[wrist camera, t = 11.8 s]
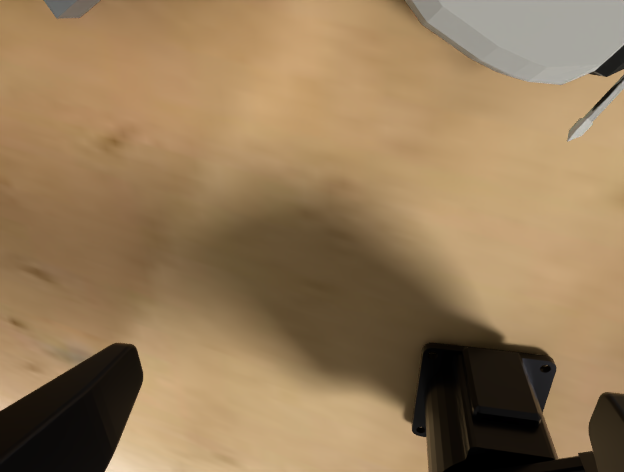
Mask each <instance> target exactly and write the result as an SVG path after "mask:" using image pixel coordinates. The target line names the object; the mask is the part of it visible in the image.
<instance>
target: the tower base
mask: <svg viewBox="0 0 624 472" xmlns="http://www.w3.org/2000/svg"><path fill="white" fill-rule="evenodd" d="M44 1H45V3H46V4H47V6H48V7H49V8H50V10H51V11H52V13H53V14H54V15H55V17H56V18H57V19H59V18H80V17H81V16H83V15H84V14H85V13H86V12H87V11H89V10H90V9H91V8H92V7H93V6H94V5H96V4H97V3H98V2H99V1H100V0H44Z"/></svg>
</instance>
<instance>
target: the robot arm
mask: <svg viewBox="0 0 624 472" xmlns="http://www.w3.org/2000/svg"><path fill="white" fill-rule="evenodd" d="M430 352H436V353H435V354H429V353H430ZM543 365H548V366H546V367H541V366H543ZM555 372H556V365H555V363H554V361H553V359H552V358H551V357H549V356H544V355H535V354H526V353H518V352H509V351H500V350H491V349H482V348H473V347H465V346H456V345H447V344H438V343H428V344H426V345H425V346H424V347H423V349H422V356H421V363H420V370H419V377H418V384H417V391H416V397H415V404H414V411H413V418H412V432H413V433H414V434H416V435H418V436H423V437H427V454H428V471H429V472H624V394H620V393H610V392H605V393H603V394H601V395H600V397H599V399H598V402H597V404H596V407H595V409H594V412H593V414H592V417H591V419H590V422H589V437H590V441H591V445H592V449H593V451H590V452H583V453H578V455H579V456H575V457H568V458H562V459H558V456H557V454H556V451H555V448H554V445H553V442H552V439H551V436H550V433H549V431H548V428H547V425H546V422H545V419H544V416H543V409H544V406H545V403H546V400H547V397H548V394H549V391H550V388H551V385H552V382H553V378H554V375H555ZM142 382H143V371H142V367H141V363H140V359H139V355H138V352H137V349H136V347H135V346H134V345H132V344H125V343H114V344H112V345H110V346H108V347H107V348H105V349H103V350H102V351H100V352H98V353H97V354H95V355H93V356H92V357H90V358H88V359H87V360H85V361H83V362H82V363H80V364H78V365H77V366H75V367H73V368H72V369H70V370H68V371H67V372H65V373H63V374H62V375H60V376H58V377H57V378H55V379H53V380H52V381H50V382H48V383H47V384H45V385H43V386H42V387H40V388H38V389H37V390H35V391H33V392H32V393H30V394H28V395H27V396H25V397H23V398H22V399H20V400H18V401H17V402H15V403H13V404H12V405H10V406H8V407H7V408H5V409H3V410H2V411H0V472H105V470H106V468H107V466H108V464H109V462H110V460H111V458H112V456H113V454H114V452H115V450H116V447H117V445H118V443H119V440H120V438H121V435H122V433H123V430H124V428H125V425H126V423H127V420H128V418H129V415H130V413H131V410H132V408H133V405H134V403H135V400H136V398H137V395H138V393H139V390H140V388H141V385H142ZM420 427H421V428H420Z"/></svg>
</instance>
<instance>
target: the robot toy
mask: <svg viewBox="0 0 624 472" xmlns="http://www.w3.org/2000/svg"><path fill="white" fill-rule="evenodd" d="M405 1H406V3H407V4H408V6H409V7H410V8H411V10H412V11H413V13H414V14H415V16H416V17H417V18H418V20H419V21H420V23H421V24H422V25H424V26H425V27H426V28H428V29H429V30H431V31H432V32H433V33H435V34H436V35H438V36H439V37H440V38H442V39H443V40H445V41H446V42H448V43H449V44H450V45H452V46H453V47H455V48H456V49H457V50H459V51H460V52H462V53H463V54H465V55H466V56H467V57H469V58H470V59H472V60H474V61H476V62H478V63H480V64H482V65H484V66H486V67H488V68H490V69H492V70H494V71H496V72H499V73H501V74H504V75H507V76H510V77H513V78H517V79H520V80H524V81H528V82H537V83H548V84H558V85H562V84H565V83H567V82H570V81H572V80H574V79H577V78H579V77H581V76H584V75H586V74H593V75H599V76H605V77H608V76H610V75H612V74H614V73H616V72H618V71H620V70H623V69H624V0H405ZM623 89H624V75H623V76H622V77H621V78H620V79H619V80H618V82H617V83H616V84H615V85H614V86H613V87H612V88H611V89H610V90H609V91H608V92H607V93H606V94H605V95H604V96H603V97H602V99H601V100H600V101H599V102H598V103H597V104H596V105H595V106H594V107H593V108H592V109H591V110H590V111H589V112H588V113H587V114H586V116H585V117H584V118H580V119H579V120H578V121H577V122H576V123H575V125H574V126H573V127H572V128H571V129H570V130H569V134H568V140H567V142H568V141H570V140H573V139H575V138H577V137H580V136H582V135H583V134H584V133H585V132H586V131H587V130H588V129H589V128H590V127H591V126H592V125H593V123H592V122H593V121H594V120H595V119H596V118H597V116H598V115H599V114H600V113H601V112H602V111H603V110H604V109H605V108H606V107H607V106H608V105H609V104H610V103H611V102H612V101H613V100H614V98H615V97H616V96H617V95H618V94H619V93H620V92H621V91H622V90H623Z"/></svg>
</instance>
